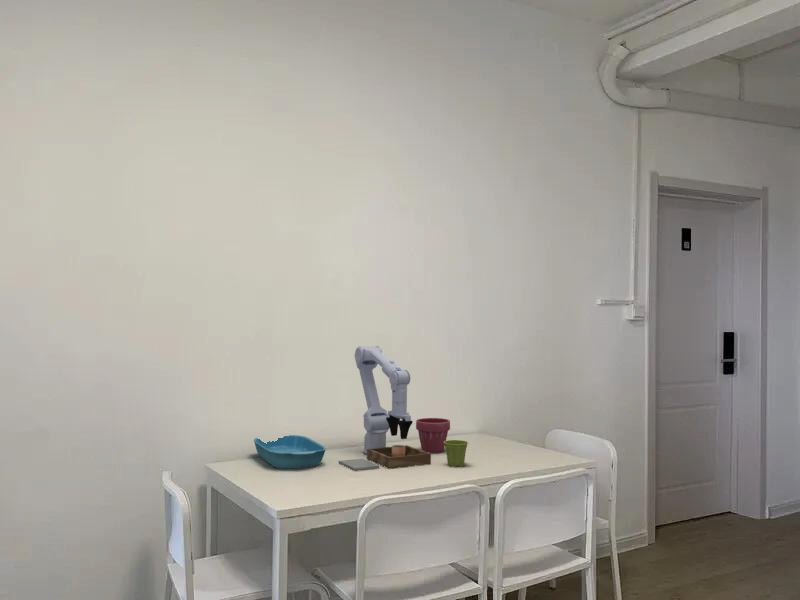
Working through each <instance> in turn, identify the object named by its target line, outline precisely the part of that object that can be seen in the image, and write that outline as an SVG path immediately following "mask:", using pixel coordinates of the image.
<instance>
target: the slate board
mask: <svg viewBox="0 0 800 600" xmlns="http://www.w3.org/2000/svg"><path fill="white" fill-rule="evenodd" d="M338 465H341V466H343V465H344V466H343V467H345V466H346V467H345V468H347V467H348V468H347V469H349V468H350V469H349V470H351V469H352V471H353V470H354V471H353V472H359V471H358V470H361V471H368V470H367V469H370V470H376V469H375V468H379V469H380V465H379V464H377V463H374V462H372V461H370V460H367V459H364V458H354V459H343V460H338Z"/></svg>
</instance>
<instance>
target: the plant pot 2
mask: <svg viewBox="0 0 800 600" xmlns="http://www.w3.org/2000/svg"><path fill="white" fill-rule="evenodd" d="M444 444H445V447H444V448H445V452H446V460H447V465H448V464H449V465H448V466H449V467H458V466H459V467H462V466H464V465H465V459H466V452H467V448H468V445H469V441H467V440H461V439H449V440H447V439H446V441H444Z"/></svg>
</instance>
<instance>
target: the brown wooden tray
mask: <svg viewBox="0 0 800 600" xmlns="http://www.w3.org/2000/svg"><path fill="white" fill-rule="evenodd" d="M404 446H405V456H397V457H392V446H386V447H384V448H373V449H367V454H366V460H367V459H368V460H367V461H370V460H371V461H370V462H372V461H373V462H372V463H374V462H375V463H374V464H377V463H378V464H377V465H379V464H380V465H379V466H381V465H383V466H382V467H384V466H385V467H384V468H386V467H387V468H386V469H388V468H392V469H399V468H398V467H401V468H406V467H405V466H410V467H416V466H415V465H419V466H425V465H424V464H428V465H431V463H432V459H431V458H432V457H431V456H432V453H428V452H425V451H422V449H419V448H415V447H413V446H410V445H404Z"/></svg>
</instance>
